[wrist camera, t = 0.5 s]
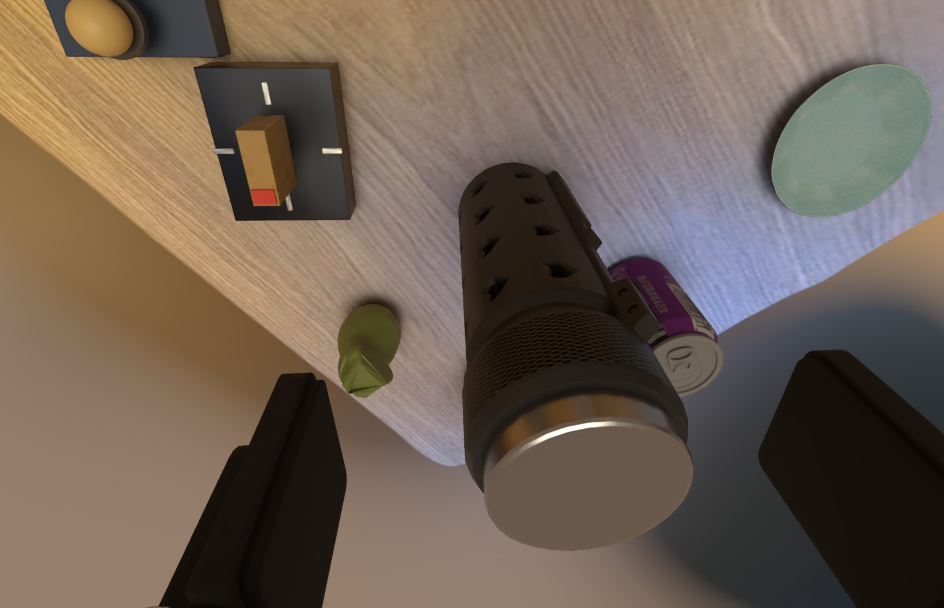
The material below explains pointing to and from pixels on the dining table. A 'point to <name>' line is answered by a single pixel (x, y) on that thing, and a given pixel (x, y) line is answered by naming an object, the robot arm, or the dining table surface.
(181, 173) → the dining table surface
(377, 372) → the pear
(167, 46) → the button base
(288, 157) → the orange brown rectangular block
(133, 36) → the lamp dome
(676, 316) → the beverage can
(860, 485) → the robot arm
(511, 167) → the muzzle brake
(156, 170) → the dining table surface
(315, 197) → the base
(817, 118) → the saucer
